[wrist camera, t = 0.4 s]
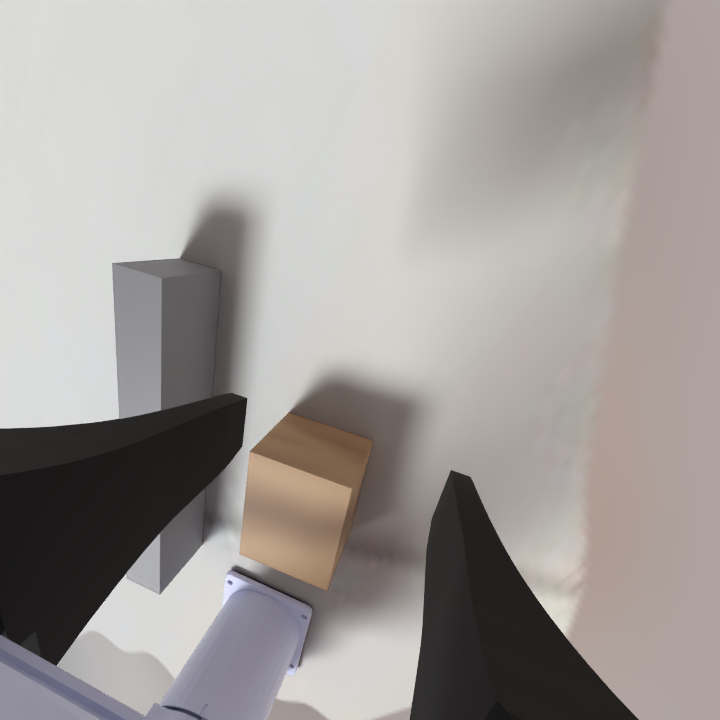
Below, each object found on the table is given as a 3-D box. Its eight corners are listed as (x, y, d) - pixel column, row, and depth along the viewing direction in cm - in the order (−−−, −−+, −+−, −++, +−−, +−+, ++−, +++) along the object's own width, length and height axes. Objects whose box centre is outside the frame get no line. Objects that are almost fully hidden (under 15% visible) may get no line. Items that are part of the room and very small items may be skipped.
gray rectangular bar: (204, 542, 31) (159, 594, 27) (175, 529, 32) (126, 578, 27) (223, 270, 22) (161, 278, 18) (183, 258, 23) (112, 263, 18)
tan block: (350, 529, 26) (327, 591, 21) (277, 500, 27) (239, 554, 22) (374, 439, 23) (352, 488, 18) (290, 411, 24) (249, 451, 19)
